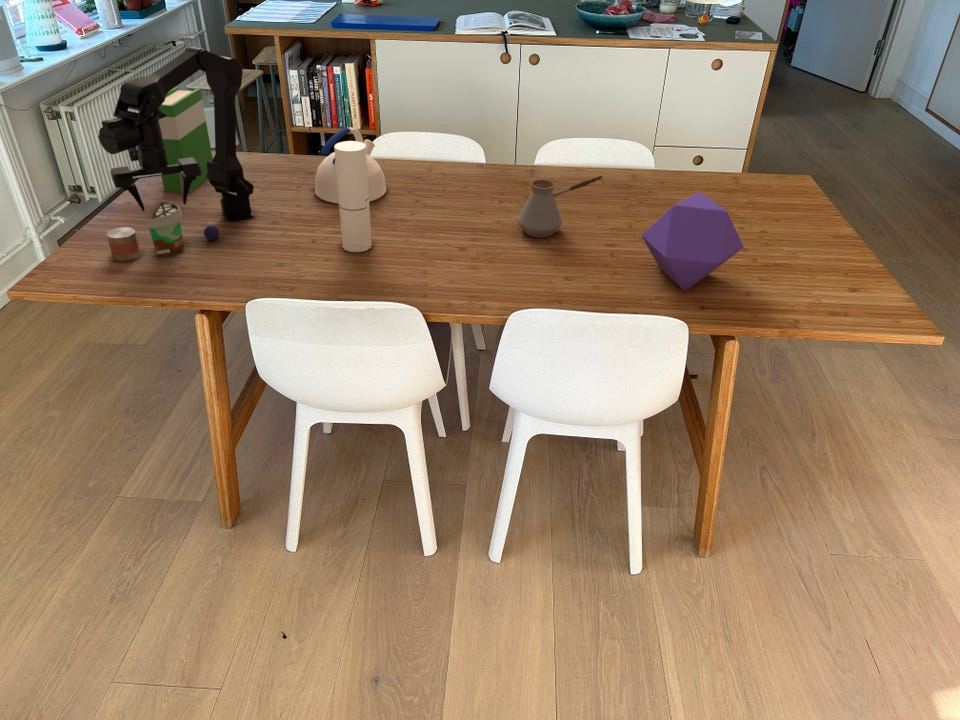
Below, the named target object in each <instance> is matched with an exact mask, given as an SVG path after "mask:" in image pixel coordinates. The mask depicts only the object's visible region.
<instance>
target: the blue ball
mask: <svg viewBox="0 0 960 720" xmlns="http://www.w3.org/2000/svg"><path fill="white" fill-rule="evenodd" d="M203 235H204V237H205V238H206V239H207V240H209V241H215V240H217V239H218V238H219V237H220V230H219V228H218V227H217V226H215V225H208V226H206V227H205V228H204V230H203Z"/></svg>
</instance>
